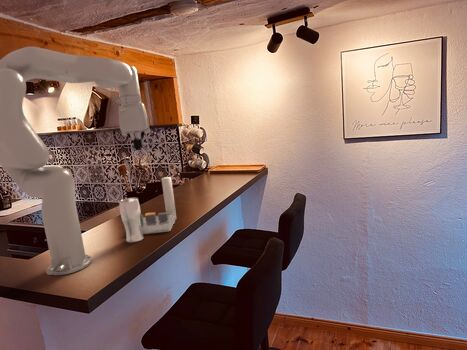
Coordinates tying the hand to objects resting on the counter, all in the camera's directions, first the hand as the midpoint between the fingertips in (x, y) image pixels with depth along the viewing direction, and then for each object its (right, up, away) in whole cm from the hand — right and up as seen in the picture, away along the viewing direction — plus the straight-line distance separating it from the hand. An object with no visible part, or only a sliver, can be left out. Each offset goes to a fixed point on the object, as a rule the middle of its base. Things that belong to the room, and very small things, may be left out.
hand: (138, 149), depth 130 cm
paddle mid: (+4, -28, +5) cm, 29 cm away
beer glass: (0, -33, -5) cm, 34 cm away
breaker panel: (+4, -31, +6) cm, 32 cm away
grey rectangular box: (+9, -28, +5) cm, 29 cm away
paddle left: (-1, -29, +5) cm, 29 cm away
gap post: (+10, -28, +15) cm, 34 cm away
